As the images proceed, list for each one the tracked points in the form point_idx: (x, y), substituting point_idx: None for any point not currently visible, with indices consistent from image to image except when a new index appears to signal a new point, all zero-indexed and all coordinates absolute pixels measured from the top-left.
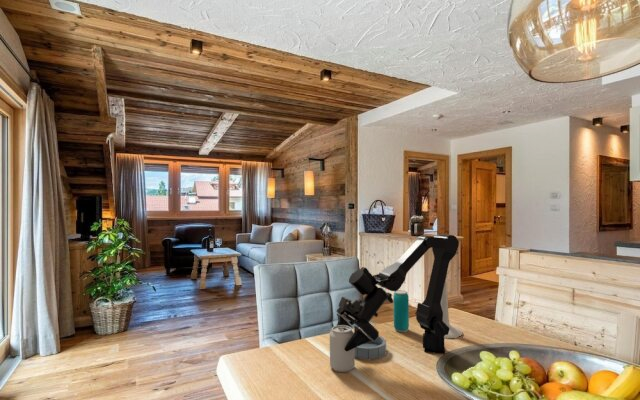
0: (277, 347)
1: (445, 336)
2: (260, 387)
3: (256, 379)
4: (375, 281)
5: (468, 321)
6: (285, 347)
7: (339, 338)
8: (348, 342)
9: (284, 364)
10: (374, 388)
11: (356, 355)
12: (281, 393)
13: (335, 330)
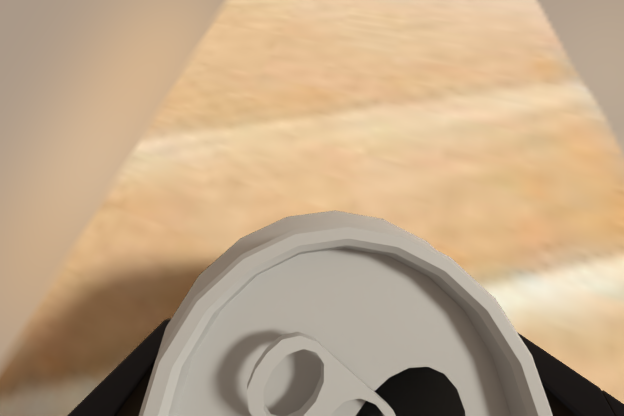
0: (572, 105)
1: None
2: (269, 4)
3: (323, 4)
4: None
5: None
6: (571, 133)
7: (191, 287)
8: (120, 388)
9: (409, 96)
10: (44, 399)
11: None
12: (205, 45)
13: (363, 291)
